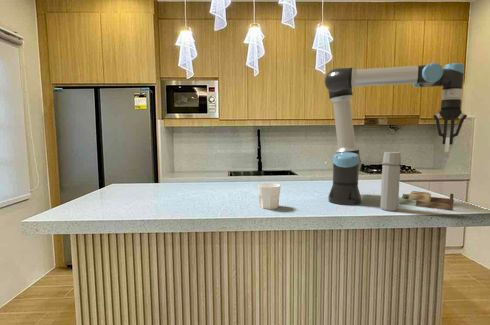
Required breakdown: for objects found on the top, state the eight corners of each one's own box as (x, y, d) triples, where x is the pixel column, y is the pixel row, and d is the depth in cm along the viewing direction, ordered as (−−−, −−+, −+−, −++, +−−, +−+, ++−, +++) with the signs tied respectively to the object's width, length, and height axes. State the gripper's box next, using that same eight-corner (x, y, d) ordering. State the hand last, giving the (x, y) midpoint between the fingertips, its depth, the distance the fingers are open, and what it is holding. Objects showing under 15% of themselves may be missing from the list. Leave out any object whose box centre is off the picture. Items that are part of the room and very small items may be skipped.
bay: (398, 204, 143) (399, 193, 142) (402, 198, 154) (403, 188, 154) (452, 210, 131) (453, 199, 130) (452, 204, 142) (453, 193, 142)
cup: (254, 208, 134) (255, 186, 133) (261, 203, 143) (261, 182, 142) (277, 210, 130) (277, 187, 129) (282, 205, 140) (282, 184, 138)
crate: (408, 204, 143) (409, 193, 142) (411, 201, 149) (412, 190, 149) (427, 207, 138) (428, 195, 137) (430, 203, 144) (431, 192, 144)
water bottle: (401, 212, 128) (404, 153, 126) (381, 211, 130) (384, 152, 127) (395, 206, 137) (398, 151, 135) (376, 205, 139) (379, 151, 136)
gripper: (433, 99, 137) (429, 151, 140) (469, 98, 130) (464, 152, 132) (435, 100, 143) (430, 150, 146) (469, 99, 136) (464, 152, 139)
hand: (446, 151), depth 139 cm, fingers closed
